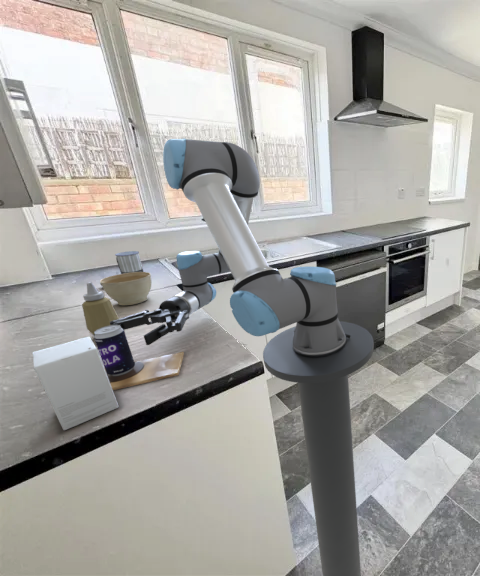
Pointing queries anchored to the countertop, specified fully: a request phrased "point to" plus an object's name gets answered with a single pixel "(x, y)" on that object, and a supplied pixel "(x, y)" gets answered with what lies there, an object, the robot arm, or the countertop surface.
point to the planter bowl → (128, 287)
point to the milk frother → (129, 262)
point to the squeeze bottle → (97, 309)
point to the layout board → (148, 371)
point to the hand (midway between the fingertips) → (121, 339)
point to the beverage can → (114, 350)
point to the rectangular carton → (74, 381)
